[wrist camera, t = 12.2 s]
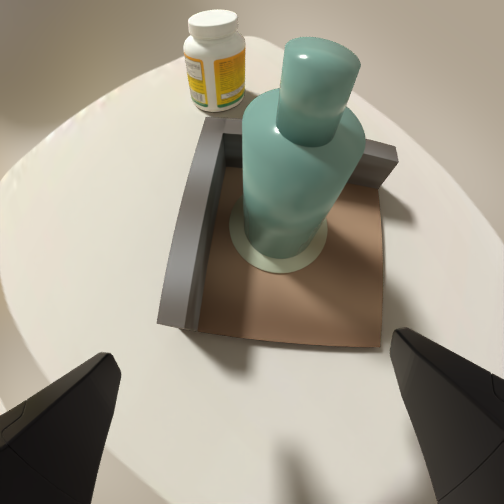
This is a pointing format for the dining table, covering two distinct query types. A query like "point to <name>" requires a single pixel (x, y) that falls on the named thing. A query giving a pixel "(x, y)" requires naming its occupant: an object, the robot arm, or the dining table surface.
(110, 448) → the dining table surface
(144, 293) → the dining table surface
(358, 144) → the teal bottle
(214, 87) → the supplement bottle
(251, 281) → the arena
